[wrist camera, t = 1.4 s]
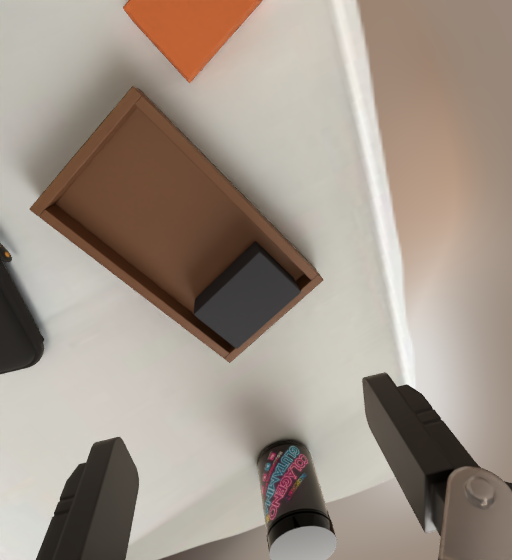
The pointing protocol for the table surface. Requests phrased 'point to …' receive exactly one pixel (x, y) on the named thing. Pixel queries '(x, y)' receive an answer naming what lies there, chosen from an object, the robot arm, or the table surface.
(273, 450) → the supplement container
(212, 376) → the table surface
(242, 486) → the table surface
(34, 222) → the table surface
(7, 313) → the carrying case
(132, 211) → the brown wooden tray
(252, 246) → the charcoal pad
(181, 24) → the rust pad
